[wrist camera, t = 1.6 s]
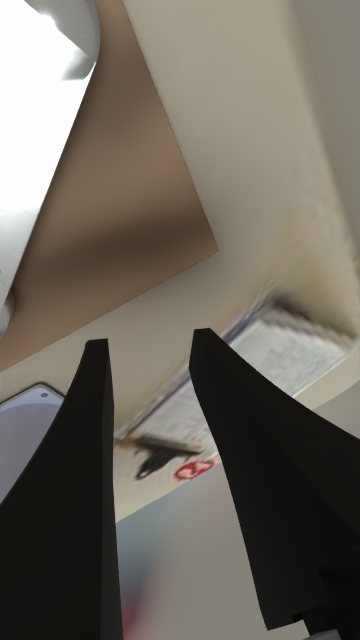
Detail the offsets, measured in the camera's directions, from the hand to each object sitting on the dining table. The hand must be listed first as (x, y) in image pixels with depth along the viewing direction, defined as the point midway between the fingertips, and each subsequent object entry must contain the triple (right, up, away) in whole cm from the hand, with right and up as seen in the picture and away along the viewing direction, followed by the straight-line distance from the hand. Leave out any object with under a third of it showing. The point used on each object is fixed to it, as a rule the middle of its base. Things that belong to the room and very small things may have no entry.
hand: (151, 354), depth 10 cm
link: (-7, +7, +2) cm, 10 cm away
